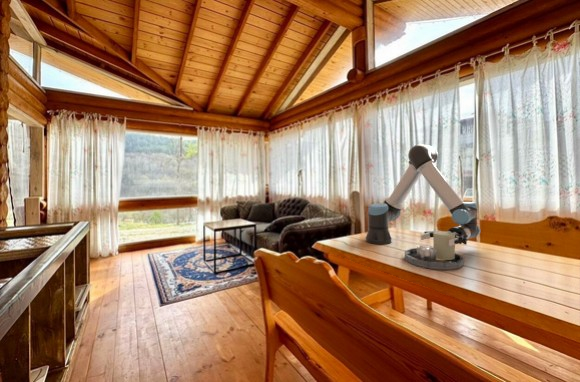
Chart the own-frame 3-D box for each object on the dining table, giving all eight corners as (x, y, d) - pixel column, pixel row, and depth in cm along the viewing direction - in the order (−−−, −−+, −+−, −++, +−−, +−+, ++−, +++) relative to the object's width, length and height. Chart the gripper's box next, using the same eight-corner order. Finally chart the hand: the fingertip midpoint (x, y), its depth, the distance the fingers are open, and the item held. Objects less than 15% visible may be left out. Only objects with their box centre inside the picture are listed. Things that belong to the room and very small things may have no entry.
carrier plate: (395, 255, 133) (395, 241, 133) (437, 252, 137) (437, 238, 136) (426, 272, 110) (426, 255, 109) (476, 267, 113) (476, 251, 113)
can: (455, 261, 118) (455, 235, 117) (432, 258, 123) (432, 233, 122) (455, 255, 125) (455, 231, 125) (434, 253, 131) (433, 229, 130)
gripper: (486, 246, 123) (462, 254, 113) (434, 236, 145) (411, 242, 134) (486, 230, 123) (463, 237, 112) (434, 223, 145) (411, 228, 134)
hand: (434, 239), depth 123 cm, fingers open, 13 cm apart
